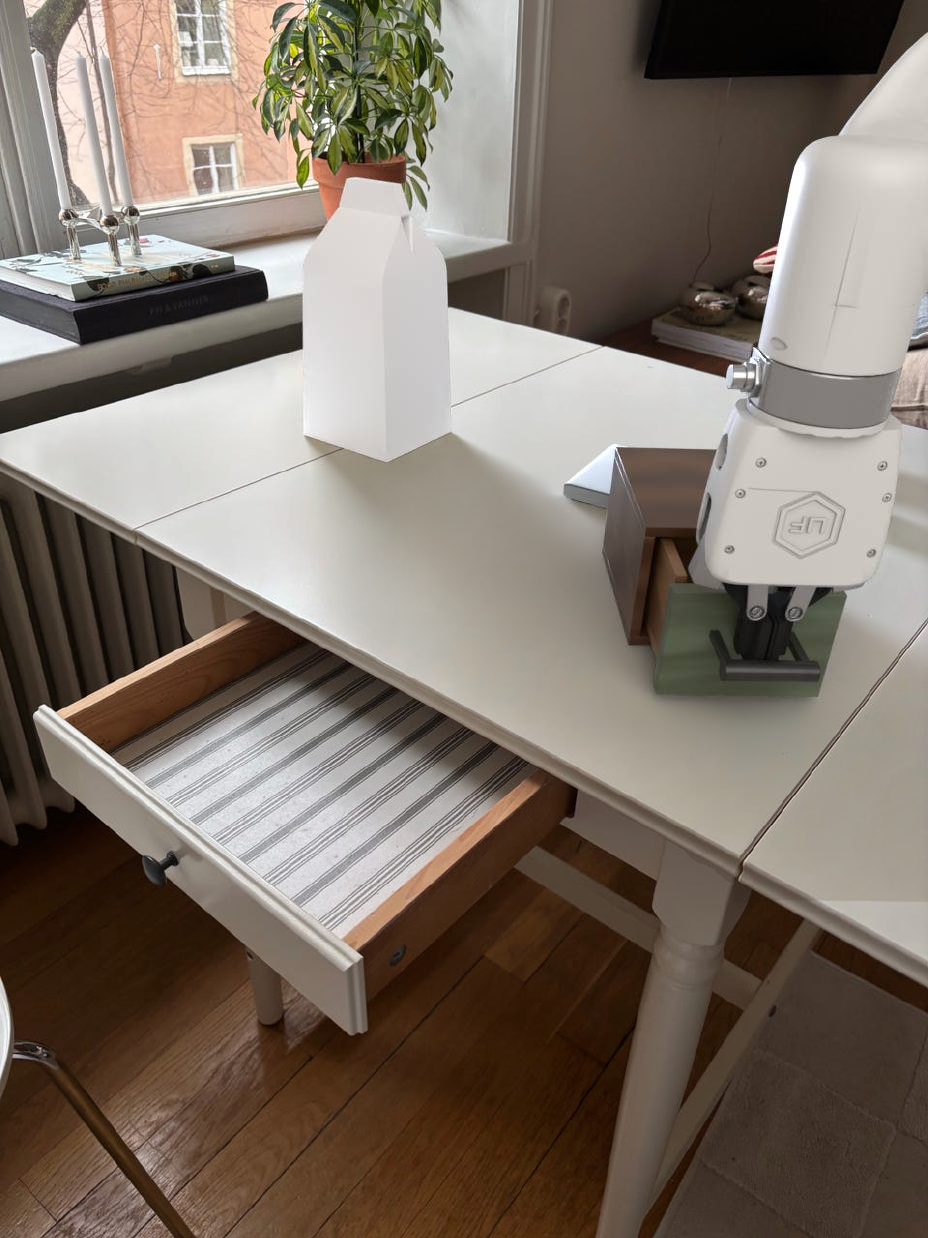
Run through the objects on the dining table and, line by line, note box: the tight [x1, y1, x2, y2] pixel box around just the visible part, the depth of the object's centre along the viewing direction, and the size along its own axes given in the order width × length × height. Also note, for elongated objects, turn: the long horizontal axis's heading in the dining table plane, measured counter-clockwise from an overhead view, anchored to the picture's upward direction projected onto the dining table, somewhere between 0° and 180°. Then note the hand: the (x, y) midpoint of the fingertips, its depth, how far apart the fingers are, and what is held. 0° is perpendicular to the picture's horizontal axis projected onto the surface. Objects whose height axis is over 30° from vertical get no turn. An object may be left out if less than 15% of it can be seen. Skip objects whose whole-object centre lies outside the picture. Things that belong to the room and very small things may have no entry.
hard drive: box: [562, 443, 627, 509], centre depth 97 cm, size 2×8×12 cm
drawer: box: [643, 537, 848, 698], centre depth 68 cm, size 18×11×8 cm, turn 1°
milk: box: [302, 176, 453, 463], centre depth 100 cm, size 12×12×26 cm
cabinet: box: [601, 446, 717, 646], centre depth 76 cm, size 15×13×10 cm
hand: (755, 660), depth 62 cm, fingers closed
